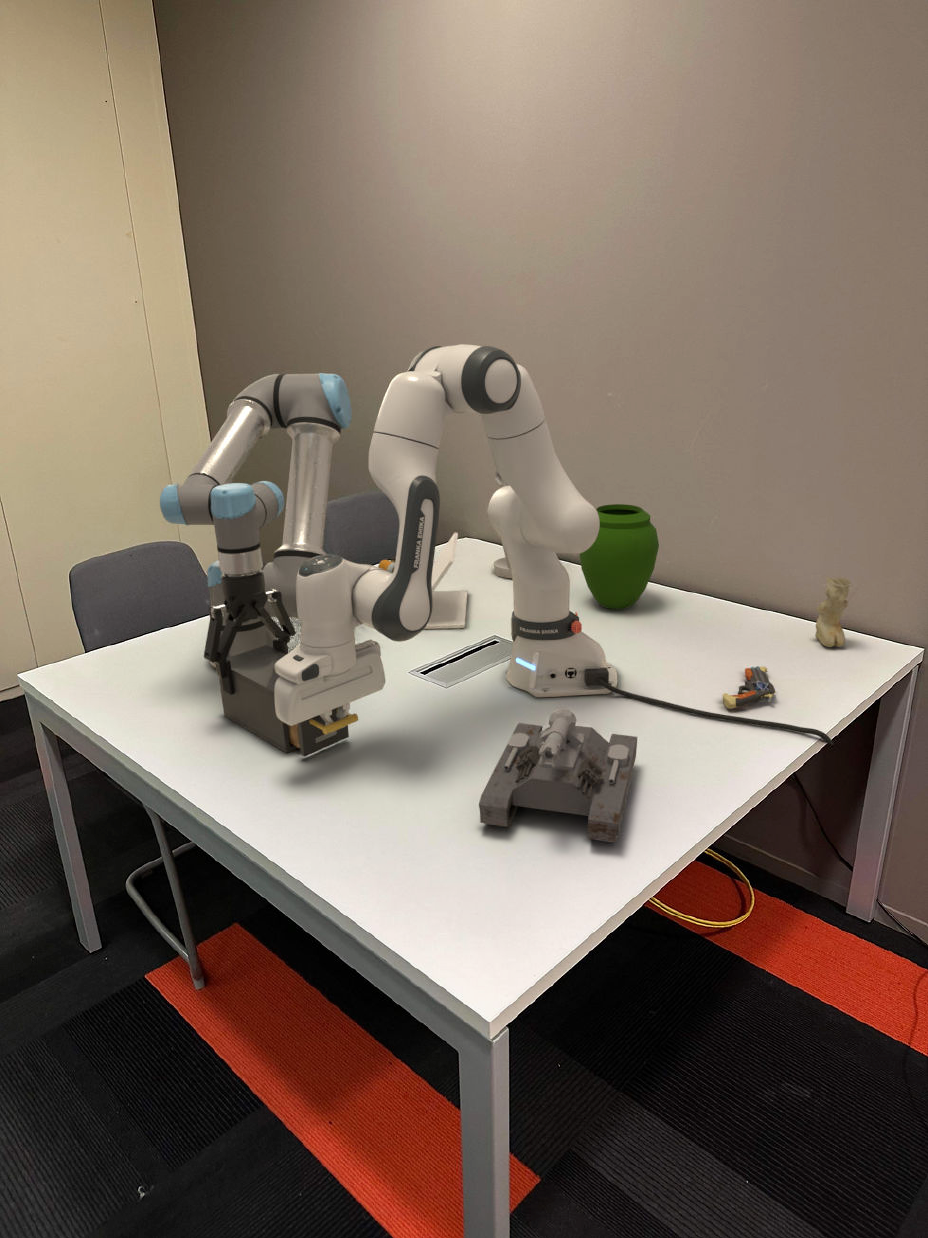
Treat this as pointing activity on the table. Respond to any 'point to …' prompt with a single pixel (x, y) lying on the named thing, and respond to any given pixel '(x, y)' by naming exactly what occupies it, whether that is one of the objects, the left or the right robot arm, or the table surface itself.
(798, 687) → the table surface
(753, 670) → the toy gun
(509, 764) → the toy
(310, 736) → the drawer
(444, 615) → the tablet stand
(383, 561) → the spray gun
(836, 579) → the sculpture
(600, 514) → the vase
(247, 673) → the cabinet
